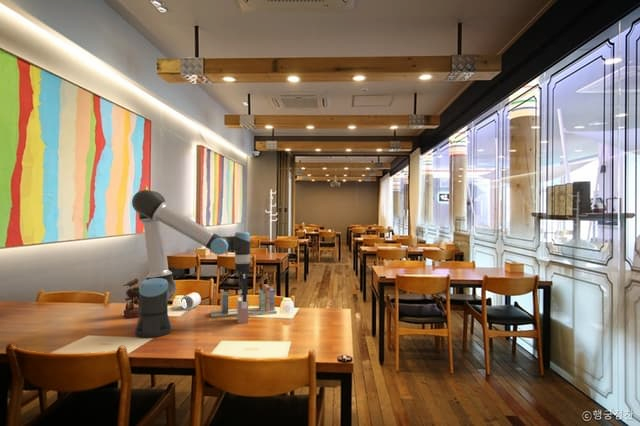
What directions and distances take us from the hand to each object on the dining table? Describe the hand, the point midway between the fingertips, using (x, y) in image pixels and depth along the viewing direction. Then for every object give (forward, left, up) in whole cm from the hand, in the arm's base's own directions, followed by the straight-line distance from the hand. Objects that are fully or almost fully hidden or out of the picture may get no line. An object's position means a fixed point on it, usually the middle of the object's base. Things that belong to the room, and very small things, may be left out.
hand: (243, 305), depth 189 cm
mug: (+36, +28, -8) cm, 47 cm away
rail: (+15, -2, -8) cm, 17 cm away
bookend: (+15, +8, -6) cm, 19 cm away
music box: (+25, +53, -8) cm, 60 cm away
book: (0, 0, -8) cm, 8 cm away
